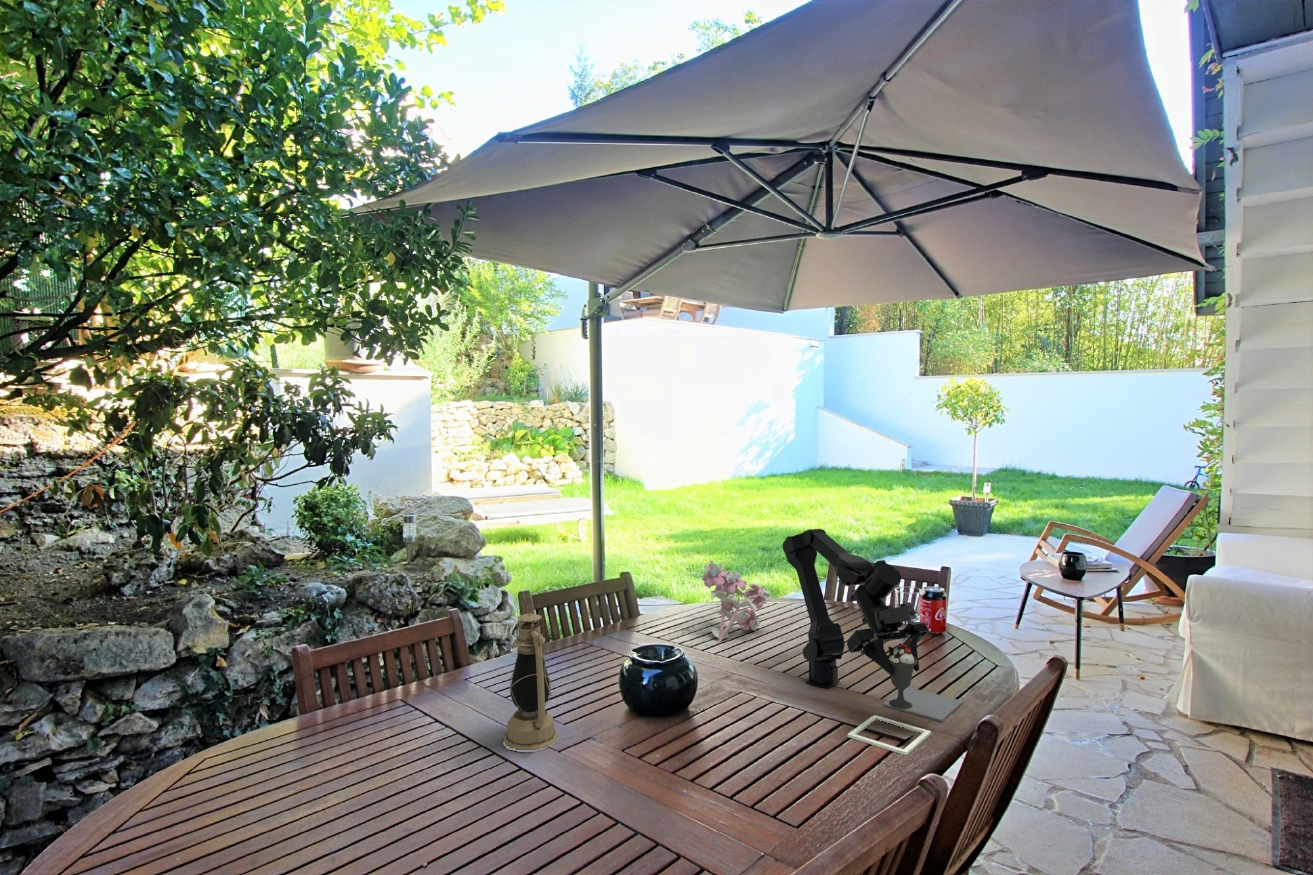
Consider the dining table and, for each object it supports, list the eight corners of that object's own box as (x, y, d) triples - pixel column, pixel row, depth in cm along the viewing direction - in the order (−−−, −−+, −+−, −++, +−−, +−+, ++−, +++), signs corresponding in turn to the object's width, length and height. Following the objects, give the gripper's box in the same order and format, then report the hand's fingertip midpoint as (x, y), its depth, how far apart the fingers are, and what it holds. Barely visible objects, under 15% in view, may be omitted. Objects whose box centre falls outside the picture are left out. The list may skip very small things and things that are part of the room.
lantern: (570, 746, 153) (568, 605, 152) (515, 760, 147) (513, 613, 146) (544, 721, 166) (542, 590, 165) (493, 733, 160) (491, 597, 159)
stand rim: (847, 736, 157) (847, 734, 157) (874, 717, 167) (874, 714, 167) (906, 755, 148) (906, 752, 148) (931, 733, 158) (931, 731, 158)
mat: (882, 705, 173) (882, 703, 173) (906, 688, 184) (906, 686, 184) (941, 722, 164) (941, 719, 164) (963, 703, 174) (963, 701, 174)
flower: (776, 644, 214) (778, 561, 224) (699, 637, 214) (705, 554, 224) (765, 653, 232) (767, 576, 242) (694, 646, 233) (699, 569, 243)
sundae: (920, 711, 156) (922, 642, 155) (888, 710, 157) (889, 641, 156) (912, 698, 163) (913, 632, 162) (881, 698, 163) (882, 631, 163)
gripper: (855, 594, 159) (887, 661, 149) (924, 586, 165) (959, 649, 156) (833, 619, 167) (863, 684, 157) (900, 611, 173) (932, 673, 163)
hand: (905, 672), depth 158 cm, fingers closed on sundae, 6 cm apart
